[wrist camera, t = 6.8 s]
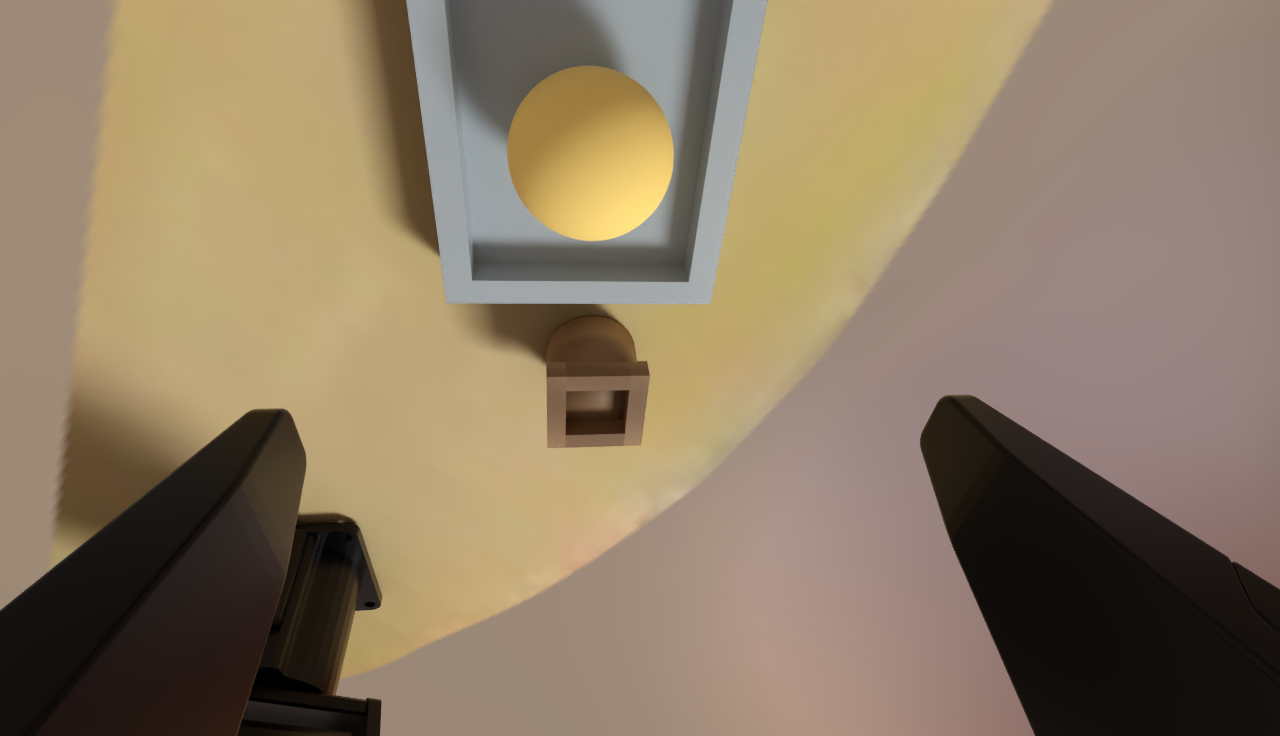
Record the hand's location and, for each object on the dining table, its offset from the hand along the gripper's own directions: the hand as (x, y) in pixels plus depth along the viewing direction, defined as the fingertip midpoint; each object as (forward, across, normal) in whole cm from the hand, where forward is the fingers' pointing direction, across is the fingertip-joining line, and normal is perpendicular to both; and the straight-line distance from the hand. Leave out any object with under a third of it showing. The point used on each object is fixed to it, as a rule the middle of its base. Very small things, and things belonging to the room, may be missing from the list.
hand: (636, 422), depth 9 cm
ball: (+9, 0, 0) cm, 9 cm away
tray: (+12, 0, 0) cm, 12 cm away
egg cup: (+12, 0, +8) cm, 15 cm away
